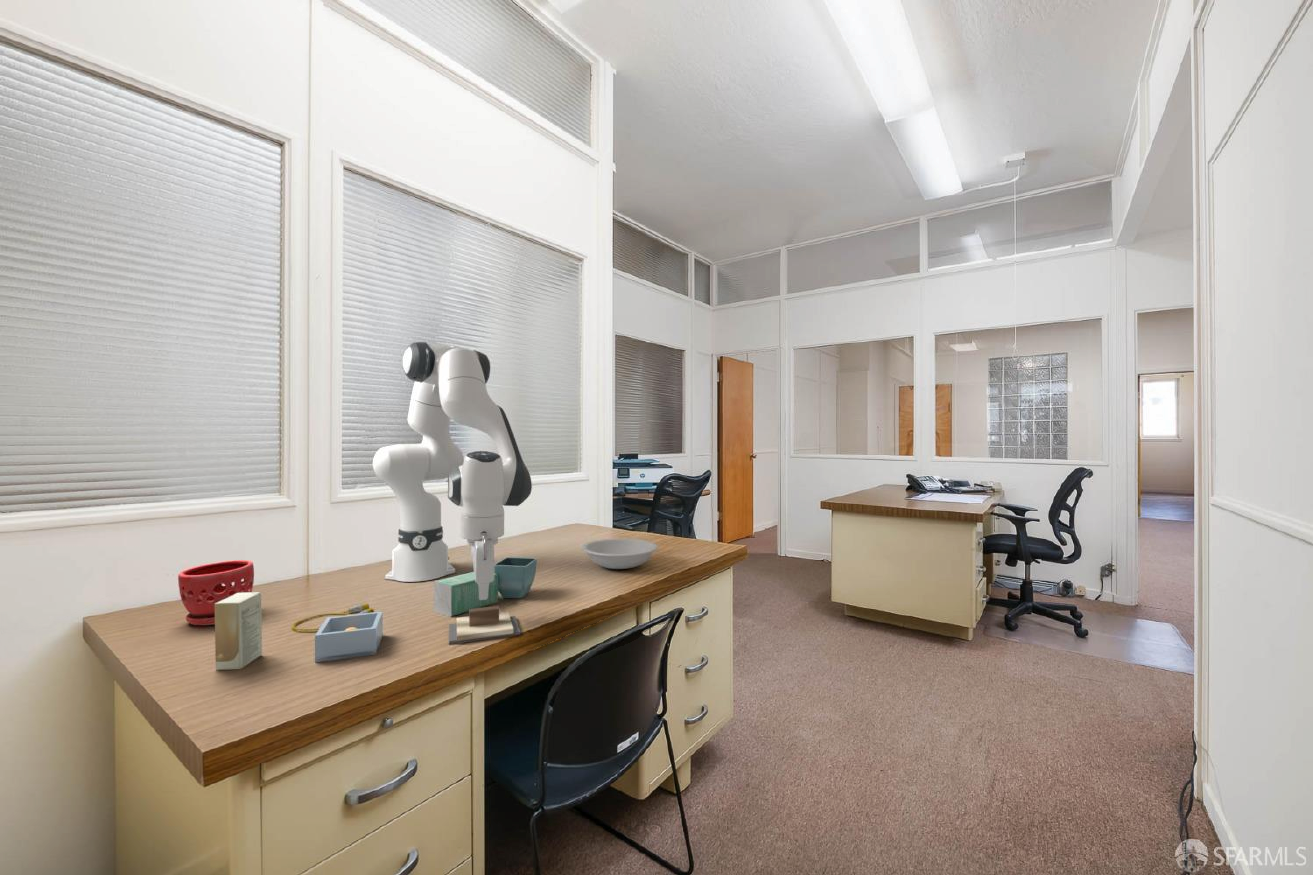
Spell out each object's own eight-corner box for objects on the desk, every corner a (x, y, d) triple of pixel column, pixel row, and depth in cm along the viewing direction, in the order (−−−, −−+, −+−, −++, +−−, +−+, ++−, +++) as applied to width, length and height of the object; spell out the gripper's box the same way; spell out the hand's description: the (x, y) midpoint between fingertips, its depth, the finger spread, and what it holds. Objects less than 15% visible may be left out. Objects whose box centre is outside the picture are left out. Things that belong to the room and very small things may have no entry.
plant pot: (235, 606, 127) (235, 557, 127) (266, 614, 121) (265, 563, 121) (166, 623, 115) (166, 569, 115) (197, 634, 109) (196, 577, 109)
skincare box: (239, 655, 99) (238, 591, 99) (263, 654, 99) (262, 591, 99) (213, 671, 93) (212, 602, 92) (239, 670, 93) (238, 602, 93)
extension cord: (374, 625, 116) (374, 616, 116) (288, 639, 108) (288, 629, 108) (374, 609, 126) (374, 601, 126) (295, 620, 119) (295, 611, 119)
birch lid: (456, 622, 115) (456, 604, 115) (508, 615, 119) (508, 598, 119) (457, 640, 105) (456, 621, 105) (513, 633, 109) (513, 614, 109)
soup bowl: (627, 582, 148) (627, 558, 148) (565, 569, 161) (565, 548, 161) (672, 564, 168) (672, 543, 168) (613, 554, 181) (613, 535, 181)
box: (499, 602, 131) (499, 572, 131) (451, 618, 120) (451, 585, 119) (480, 596, 135) (480, 568, 135) (432, 612, 124) (432, 580, 124)
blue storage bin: (327, 642, 105) (327, 617, 105) (382, 635, 109) (382, 611, 109) (314, 662, 96) (314, 635, 96) (376, 654, 100) (375, 628, 100)
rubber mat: (449, 626, 114) (449, 624, 114) (515, 618, 119) (515, 615, 119) (449, 644, 104) (449, 641, 104) (520, 634, 110) (520, 631, 110)
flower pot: (537, 591, 139) (537, 557, 139) (526, 601, 131) (526, 566, 131) (506, 590, 140) (506, 556, 140) (492, 600, 132) (492, 565, 131)
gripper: (502, 536, 103) (501, 606, 103) (494, 518, 122) (494, 577, 122) (468, 538, 101) (467, 609, 101) (466, 520, 120) (465, 579, 120)
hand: (482, 591), depth 112 cm, fingers open, 8 cm apart
